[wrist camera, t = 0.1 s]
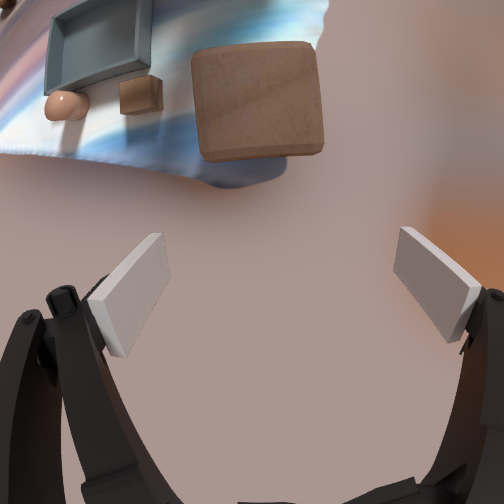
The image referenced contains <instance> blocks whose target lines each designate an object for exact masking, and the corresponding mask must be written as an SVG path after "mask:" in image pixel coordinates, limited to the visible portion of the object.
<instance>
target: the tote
mask: <svg viewBox="0 0 504 504" xmlns="http://www.w3.org/2000/svg"><path fill="white" fill-rule="evenodd" d="M152 12H153V0H83V1H81V2H79V3H77V4H75V5H73V6H71V7H69V8H68V9H66V10H64V11H62V12H60V13H59V14H57V15H55V16H54V17H52V20H51V26H50V32H49V38H48V45H47V54H46V64H45V79H44V96H50V95H51V94H52V93H53V92H55V91H68V92H73V91H75V90H78V89H81V88H83V87H86V86H88V85H91V84H94V83H97V82H100V81H102V80H105V79H108V78H112V77H115V76H118V75H121V74H125V73H128V72H132V71H136V70H139V69H143V68H147V67H151V31H152Z"/></svg>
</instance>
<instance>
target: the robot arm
mask: <svg viewBox="0 0 504 504" xmlns="http://www.w3.org/2000/svg"><path fill="white" fill-rule="evenodd" d="M393 271H394V273H395V274H396V275H397V276H398V277H399V279H400V280H401V281H402V282H403V284H404V285H405V286H406V287H407V289H408V290H409V291H410V292H411V294H412V295H413V296H414V298H415V299H416V300H417V302H418V303H419V304H420V305H421V307H422V308H423V310H424V311H425V312H426V314H427V315H428V316H429V318H430V319H431V320H432V322H433V323H434V325H435V326H436V327H437V329H438V330H439V332H440V333H441V335H442V336H443V337H444V339H445V340H446V342H447V343H451V342H456V341H459V340H460V339H461V337H462V334H463V332H464V330H465V329H466V331H467V332H468V333H469V335H468V337H467V339H466V341H465V343H464V345H463V347H462V349H461V351H460V353H459V354H460V355H461V354H462V352H464V357H463V363H462V368H461V374H460V379H459V383H458V388H457V392H456V396H455V400H454V404H453V408H452V412H451V416H450V419H449V422H448V425H447V428H446V431H445V435H444V437H443V440H442V443H441V446H440V449H439V451H438V454H437V456H436V459H435V461H434V464H433V466H432V468H431V470H430V471H429V473H428V474H427V475H426V476H425V478H424V479H423V480H422V482H421V483H420V484H416V482H415V479H414V477H411V478H408V479H405V480H402V481H399V482H396V483H392V484H389V485H386V486H382V487H378V488H376V489H374V490H372V491H369V492H367V493H365V494H363V495H361V496H359V497H357V498H354V499H352V500H350V501H348V502H345V503H343V504H504V293H503V292H502V291H500V290H497V289H488V290H486V289H485V288H484V287H483V286H482V285H481V284H480V283H479V282H477V281H476V280H475V279H474V278H473V277H472V276H471V275H470V274H469V273H467V272H466V271H465V270H464V269H463V268H462V267H461V266H459V265H458V264H457V263H456V262H455V261H454V260H452V259H451V258H450V257H449V256H448V255H446V254H445V253H444V252H443V251H441V250H440V249H439V248H438V247H437V246H435V245H434V244H433V243H431V242H430V241H429V240H428V239H426V238H425V237H424V236H422V235H421V234H420V233H418V232H417V231H416V230H414V229H413V228H411V227H400V233H399V240H398V246H397V252H396V258H395V263H394V268H393ZM170 278H171V275H170V270H169V265H168V259H167V254H166V248H165V243H164V237H163V232H158V233H150V234H149V235H148V236H147V237H146V238H145V239H144V240H143V241H141V242H140V243H139V244H138V245H137V247H135V249H133V250H132V251H131V253H130V254H129V255H128V256H127V257H126V258H125V259H124V260H123V261H122V262H121V263H120V264H119V265H118V266H117V267H116V268H115V269H114V270H113V271H112V272H111V273H110V274H108V275H106V276H105V277H103V278H102V279H100V280H99V282H98V283H97V284H96V285H95V286H94V287H93V288H92V289H91V291H89V292H88V293H87V295H86V296H85V297H84V298H83V299H82V300H81V301H80V300H79V297H78V295H77V292H76V289H75V287H74V286H72V285H65V286H60V287H58V288H56V289H54V290H53V291H51V292H50V293H49V294H48V295H47V297H46V301H47V304H48V306H49V309H50V311H51V313H52V315H53V317H54V318H51V319H43V317H42V314H41V312H40V311H39V310H36V309H33V310H28V311H26V312H24V313H23V314H22V315H21V316H20V317H19V318H18V320H17V322H16V324H15V326H14V328H13V331H12V333H11V336H10V338H9V340H8V343H7V345H6V348H5V351H4V353H3V356H2V359H1V362H0V504H66V501H65V494H64V485H63V476H62V460H61V410H62V396H63V401H64V406H65V410H66V415H67V419H68V423H69V427H70V431H71V434H72V438H73V441H74V445H75V448H76V451H77V454H78V457H79V460H80V463H81V466H82V469H83V471H84V474H85V478H86V481H85V482H84V483H83V484H81V492H82V495H83V498H84V501H85V503H86V504H184V503H182V501H181V500H180V499H179V498H178V497H177V496H176V494H175V493H174V492H173V490H172V489H171V488H170V486H169V485H168V483H167V482H166V480H165V479H164V477H163V476H162V474H161V473H160V471H159V469H158V468H157V466H156V465H155V463H154V461H153V459H152V458H151V456H150V454H149V453H148V451H147V449H146V447H145V445H144V444H143V442H142V440H141V438H140V436H139V435H138V433H137V431H136V429H135V427H134V425H133V423H132V421H131V419H130V417H129V415H128V412H127V410H126V408H125V406H124V404H123V402H122V399H121V397H120V395H119V393H118V390H117V388H116V385H115V383H114V380H113V378H112V376H111V373H110V370H109V367H108V365H107V362H106V359H105V357H104V355H103V353H102V351H103V349H104V347H105V346H107V349H108V351H109V353H110V355H111V356H116V357H123V358H127V356H128V354H129V352H130V350H131V348H132V347H133V345H134V343H135V341H136V338H137V337H138V335H139V333H140V331H141V330H142V328H143V326H144V324H145V322H146V320H147V318H148V316H149V315H150V313H151V311H152V309H153V308H154V306H155V304H156V302H157V300H158V299H159V297H160V295H161V293H162V292H163V290H164V288H165V286H166V285H167V283H168V281H169V279H170ZM238 504H294V503H287V502H275V503H249V502H238Z"/></svg>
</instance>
